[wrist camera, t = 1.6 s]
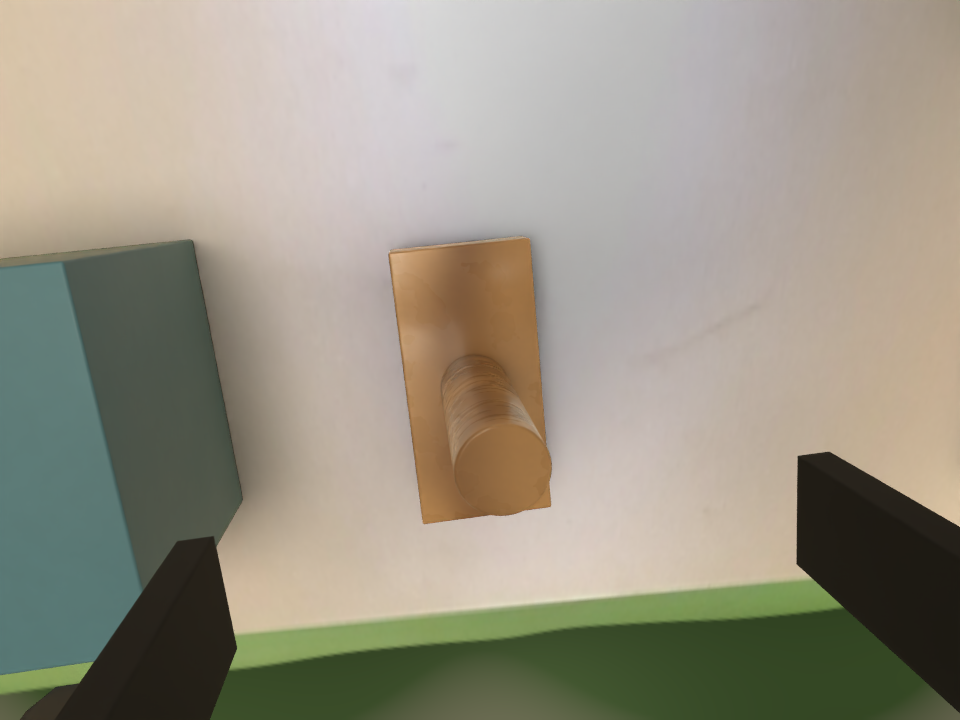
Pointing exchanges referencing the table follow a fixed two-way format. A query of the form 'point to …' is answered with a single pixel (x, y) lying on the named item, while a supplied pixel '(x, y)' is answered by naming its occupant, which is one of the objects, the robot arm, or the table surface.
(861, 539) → the robot arm
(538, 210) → the table surface
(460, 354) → the stamp
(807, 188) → the table surface
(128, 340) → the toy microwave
